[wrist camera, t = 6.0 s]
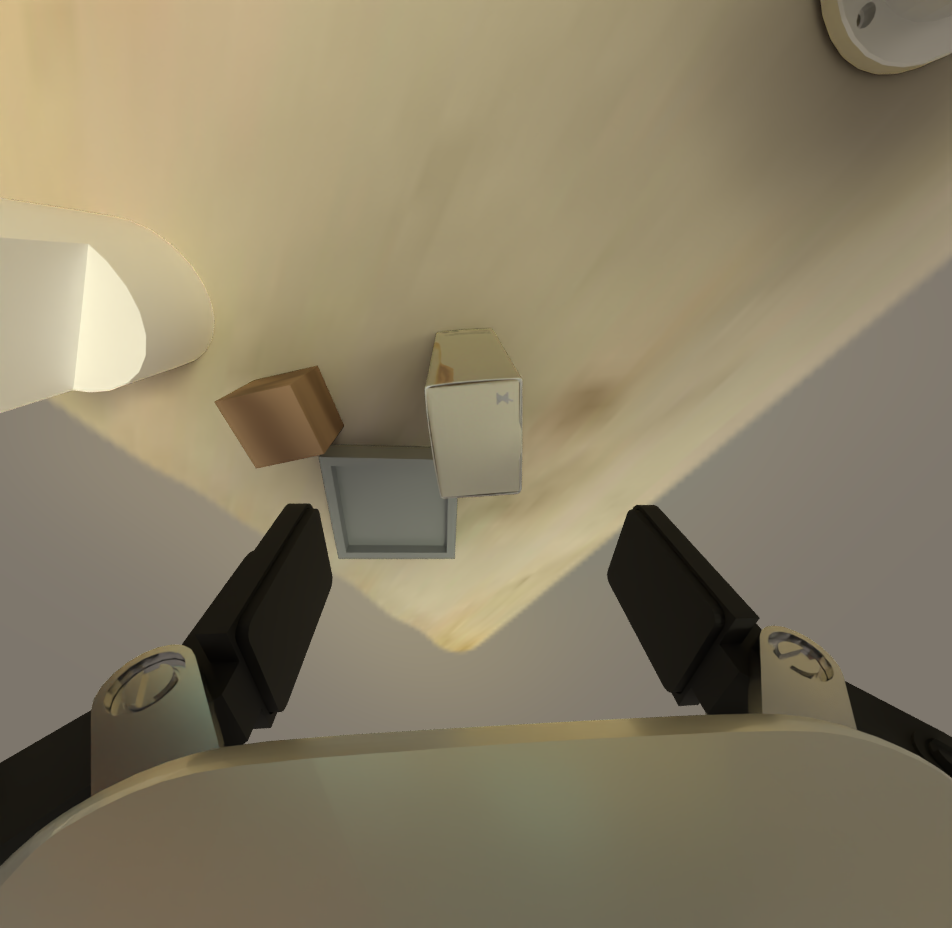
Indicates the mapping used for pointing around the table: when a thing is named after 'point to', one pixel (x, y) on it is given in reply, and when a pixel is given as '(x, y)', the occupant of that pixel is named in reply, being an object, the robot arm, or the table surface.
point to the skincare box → (474, 415)
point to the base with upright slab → (91, 303)
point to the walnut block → (283, 417)
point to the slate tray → (387, 503)
